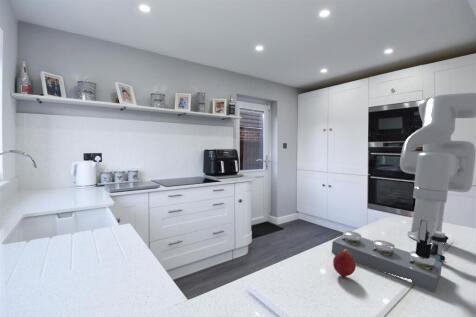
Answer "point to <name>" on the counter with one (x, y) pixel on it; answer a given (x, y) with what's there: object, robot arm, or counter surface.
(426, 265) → the knob
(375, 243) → the knob middle
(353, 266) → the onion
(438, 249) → the push button
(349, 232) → the knob
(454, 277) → the counter surface
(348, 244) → the knob panel
